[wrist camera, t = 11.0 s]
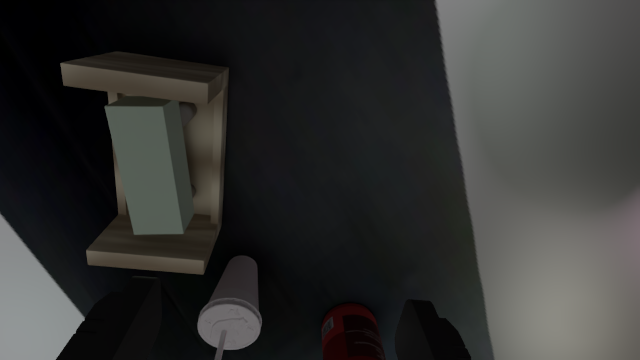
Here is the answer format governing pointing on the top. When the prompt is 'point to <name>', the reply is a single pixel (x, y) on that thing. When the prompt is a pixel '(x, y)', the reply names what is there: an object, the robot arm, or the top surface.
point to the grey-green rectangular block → (152, 163)
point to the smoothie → (233, 308)
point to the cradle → (201, 150)
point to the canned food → (351, 334)
